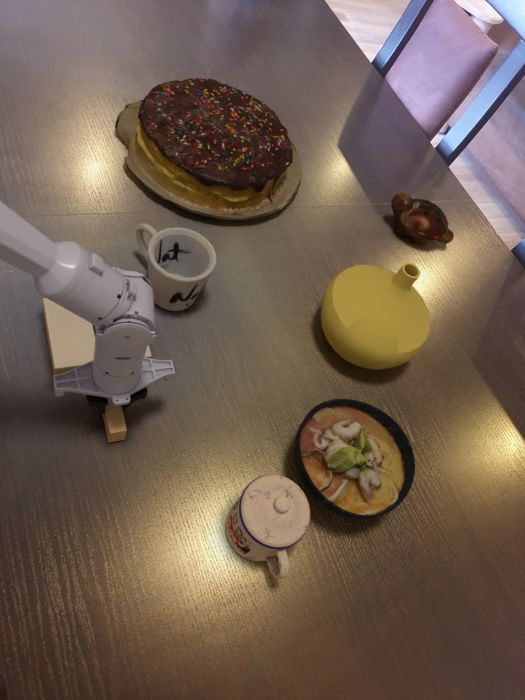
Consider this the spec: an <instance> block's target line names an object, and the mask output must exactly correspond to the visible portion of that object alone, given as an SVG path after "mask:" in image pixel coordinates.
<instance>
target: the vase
mask: <svg viewBox="0 0 525 700" xmlns="http://www.w3.org/2000/svg"><path fill="white" fill-rule="evenodd" d="M420 276H421V270H420V268H419V267H418V266H417V265H416V264H414V263H412V262H408V261H407V262H404V263H403V264H402V265H401V267H400V268H399V269H398V271H397V272H394V271H393V270H390V269H388V268H385V267H382V266H378V265H373V264H356V265H354V266H351V267H348V268H345V269H344V270H342V271H340V272H339V273H338V274H337V275H335V276H334V277H333V278H332V280H331V281H330V283H329V284H328V286H327V287H326V289H325V291H324V293H323V295H322V299H321V303H320V321H321V328H322V331H323V333H324V336H325V338H326V340H327V342H328V344H329V345H330V346H331V348H332V349H333V351H334V352H336V354H337V355H339V356H340V357H341V359H343V360H344V361H346V362H348V363H350V364H351V365H355V366H357V367H359V368H363V369H369V370H384V369H390V368H394V367H398V366H399V367H400V366H402V365H404V364H405V363H407V362H409V361H411V360H412V359H414V357H415V356H416V355H417V354H419V353H420V351H421V350H422V349H423V348H424V347H425V345H426V342H427V340H428V338H429V334H430V332H431V317H430V312H429V309H428V306H427V304H426V302H425V301H424V298H423V297H422V296H421V294H420V293H419V292H418V290H417V289H416V288H415V286H413V285H414V283H415V282H416V281H417V280H418V279H419V277H420Z"/></svg>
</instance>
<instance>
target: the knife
mask: <svg viewBox="0 0 525 700" xmlns="http://www.w3.org/2000/svg"><path fill="white" fill-rule="evenodd" d="M92 325H93V324H92ZM93 330H94V335H95V337H96V330H97V326H95V325H93ZM107 399H108V404H109V405H107V406H106V408H105V414H102V418H103V423H104V428H105V433H106V438H107V443H114V442H119V441H124V440H125V439H126V435H127V431H128V430H127V425H126V420H125V415H124V411H123V410H122V406H121V405H119V406H115V405H114V404H113V402H112V399H111V398H107Z"/></svg>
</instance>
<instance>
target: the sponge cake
mask: <svg viewBox="0 0 525 700" xmlns="http://www.w3.org/2000/svg"><path fill="white" fill-rule="evenodd" d="M42 308H43V321H44V326H45V332H46V339H47V345H48V350H49V356H50V362H51V370H52V376H53V375H57V374H62V373H65V372H68V371H70V370H72V369H74V368H77V367H79V366H81V365H83V364H85V363H88V362H90V361H92V360H93V358H94V347H95V335H94V330H93V325H92V323H90V322H88V321H86V320H85V319H83V318H81V317H79V316H77V315H76V314H74V313H72V312H70V311H69V310H67V309H65V308H63V307H61V306H60V305H58V304H56V303H54V302H53V301H51V300H49V299H47V298H46V297H43V298H42ZM97 327H98V326H97ZM145 358H150V359H152V352H151V348H150V345H148V346H147V349H146V353H145Z"/></svg>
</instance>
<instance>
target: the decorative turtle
mask: <svg viewBox="0 0 525 700" xmlns="http://www.w3.org/2000/svg"><path fill="white" fill-rule="evenodd" d="M390 203H391V210H392V213H393V215H394V217H395V219H396V228H395V233H396V236H397V237H407V236H408V237H409V236H410V237H411V238H412V240H413V242H414V245H415V246H421V245H423V244H426V243H428V242H429V243H430V242H435V241H437V242H438V243H441V244H444V245H447V244H450V243H451V242H452V241H453V240H454V236H455V235H454V232H453V231H452V229H450V228H449V221H448V218H447V216H446V214H445V212H444V211H443V209H442V208H441V207H439V206H438V205H437V204H436V203H434V202H432V201H430V200H428V199H425V198H412V195H410V194H409V193H407V192H397V193H396V194H395V195H394V196H393V197H392V199H391V201H390Z"/></svg>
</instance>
